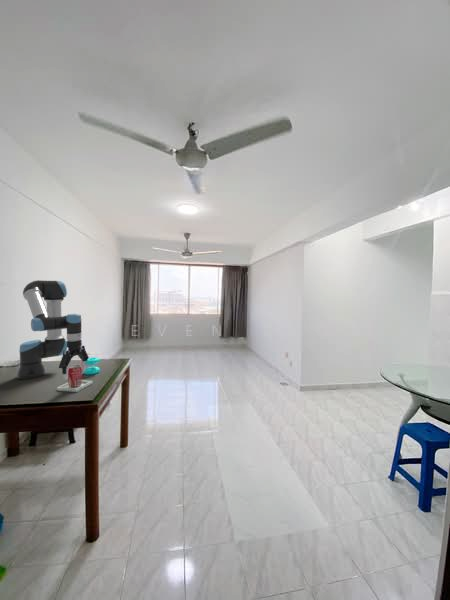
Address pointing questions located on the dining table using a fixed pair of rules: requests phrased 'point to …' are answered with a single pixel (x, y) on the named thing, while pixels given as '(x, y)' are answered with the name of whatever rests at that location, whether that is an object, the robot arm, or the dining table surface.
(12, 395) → the dining table surface
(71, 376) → the soda can
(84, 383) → the dish
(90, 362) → the donuts
